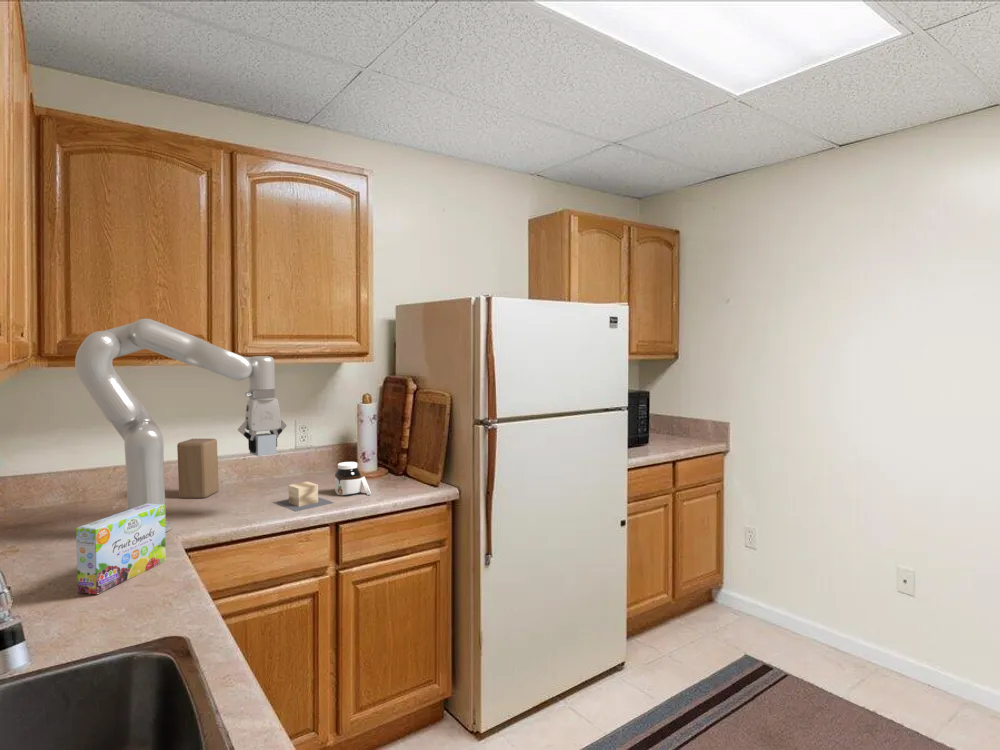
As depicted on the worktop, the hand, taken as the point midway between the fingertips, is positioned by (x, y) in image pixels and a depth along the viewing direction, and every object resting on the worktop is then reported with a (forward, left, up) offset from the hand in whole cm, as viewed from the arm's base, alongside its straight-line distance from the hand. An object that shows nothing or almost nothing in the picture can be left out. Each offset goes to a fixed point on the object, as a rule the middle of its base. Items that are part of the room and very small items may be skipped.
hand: (263, 450), depth 193 cm
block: (-6, +41, -21) cm, 46 cm away
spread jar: (+32, -1, -21) cm, 38 cm away
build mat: (+13, 0, -21) cm, 24 cm away
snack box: (-46, -26, -21) cm, 57 cm away
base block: (+13, 0, -20) cm, 24 cm away
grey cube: (0, 0, -1) cm, 1 cm away
